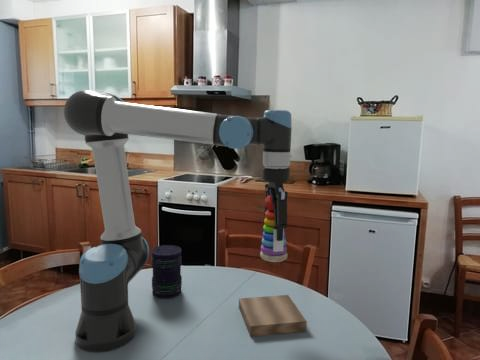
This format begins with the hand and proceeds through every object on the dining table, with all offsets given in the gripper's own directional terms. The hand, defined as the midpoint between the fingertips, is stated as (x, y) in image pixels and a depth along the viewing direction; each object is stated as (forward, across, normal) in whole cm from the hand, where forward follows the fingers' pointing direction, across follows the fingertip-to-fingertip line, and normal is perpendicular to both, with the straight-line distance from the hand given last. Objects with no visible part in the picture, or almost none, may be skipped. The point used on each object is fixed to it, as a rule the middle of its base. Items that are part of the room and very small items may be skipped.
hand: (273, 246), depth 105 cm
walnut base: (+22, 0, 0) cm, 22 cm away
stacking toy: (+4, 0, 0) cm, 4 cm away
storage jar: (+22, +22, +30) cm, 44 cm away
